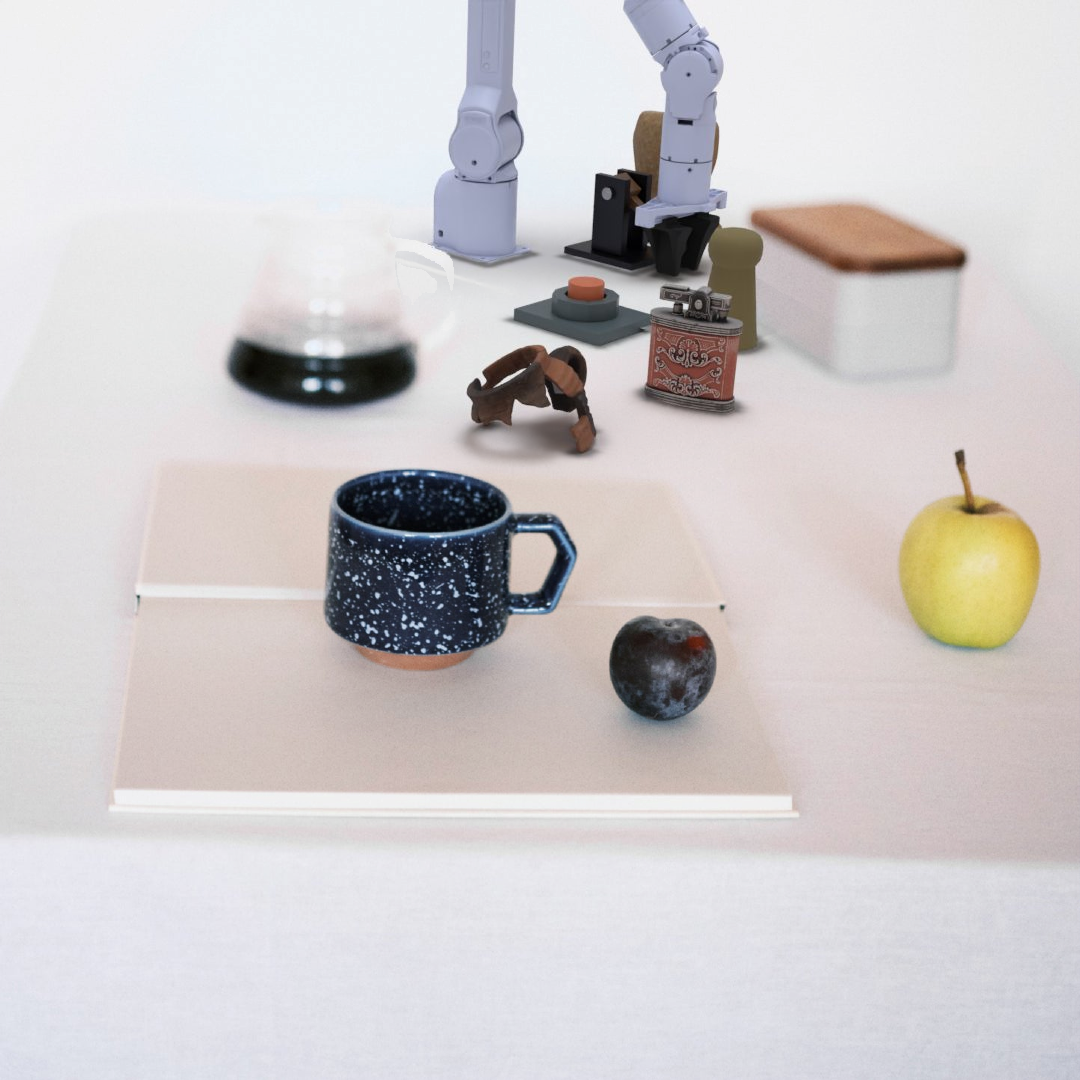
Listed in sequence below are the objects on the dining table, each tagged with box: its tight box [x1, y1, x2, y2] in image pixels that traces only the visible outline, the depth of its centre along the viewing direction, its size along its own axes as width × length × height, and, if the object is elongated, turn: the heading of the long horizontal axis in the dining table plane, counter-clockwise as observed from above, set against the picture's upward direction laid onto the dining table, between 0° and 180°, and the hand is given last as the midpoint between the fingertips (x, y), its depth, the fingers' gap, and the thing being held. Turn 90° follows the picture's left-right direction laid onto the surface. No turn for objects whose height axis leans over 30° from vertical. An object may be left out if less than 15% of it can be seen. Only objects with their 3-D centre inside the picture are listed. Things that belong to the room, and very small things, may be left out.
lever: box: [613, 173, 688, 256], centre depth 155 cm, size 12×3×3 cm
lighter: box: [643, 282, 743, 413], centre depth 117 cm, size 8×3×10 cm, turn 65°
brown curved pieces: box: [466, 344, 597, 453], centre depth 110 cm, size 12×10×8 cm
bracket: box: [563, 168, 655, 272], centre depth 158 cm, size 10×8×10 cm
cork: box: [707, 226, 764, 352], centre depth 132 cm, size 6×6×11 cm
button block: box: [513, 285, 652, 347], centre depth 137 cm, size 11×9×3 cm
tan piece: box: [632, 110, 723, 232], centre depth 168 cm, size 15×12×15 cm
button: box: [567, 275, 606, 301], centre depth 136 cm, size 4×4×2 cm
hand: (676, 280), depth 156 cm, fingers closed on lever, 3 cm apart
